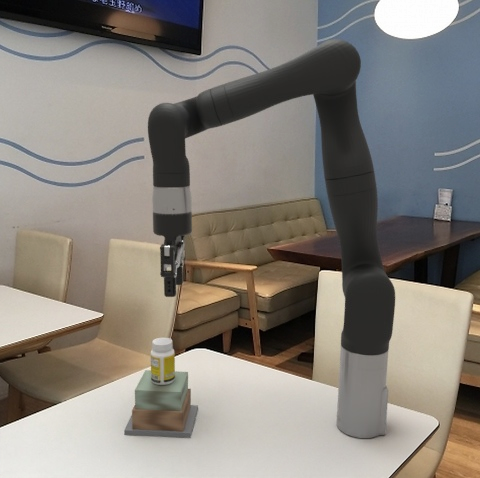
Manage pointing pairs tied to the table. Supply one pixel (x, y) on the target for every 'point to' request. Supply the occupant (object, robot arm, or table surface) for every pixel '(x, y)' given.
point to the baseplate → (182, 434)
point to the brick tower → (161, 404)
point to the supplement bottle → (162, 361)
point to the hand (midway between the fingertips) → (174, 290)
